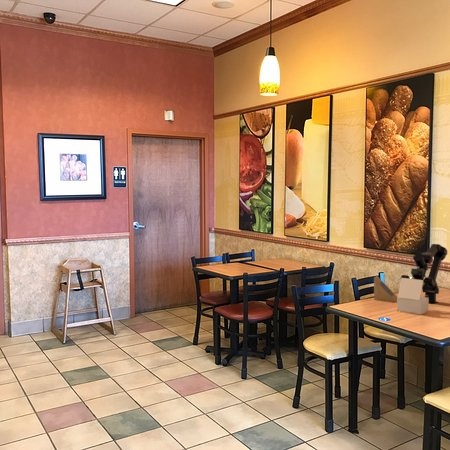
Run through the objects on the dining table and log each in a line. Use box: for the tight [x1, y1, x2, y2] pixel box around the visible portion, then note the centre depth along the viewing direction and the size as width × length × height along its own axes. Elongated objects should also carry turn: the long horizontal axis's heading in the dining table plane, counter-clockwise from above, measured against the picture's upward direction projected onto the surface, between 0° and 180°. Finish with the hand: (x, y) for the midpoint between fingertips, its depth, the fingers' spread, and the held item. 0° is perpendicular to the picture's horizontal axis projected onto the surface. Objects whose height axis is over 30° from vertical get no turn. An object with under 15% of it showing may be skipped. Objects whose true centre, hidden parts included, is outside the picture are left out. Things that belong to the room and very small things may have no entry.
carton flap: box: [397, 277, 423, 301], centre depth 286 cm, size 12×13×1 cm
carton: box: [396, 296, 430, 316], centre depth 290 cm, size 12×14×8 cm
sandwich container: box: [373, 275, 398, 303], centre depth 319 cm, size 9×15×15 cm, turn 62°
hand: (413, 292), depth 290 cm, fingers closed
